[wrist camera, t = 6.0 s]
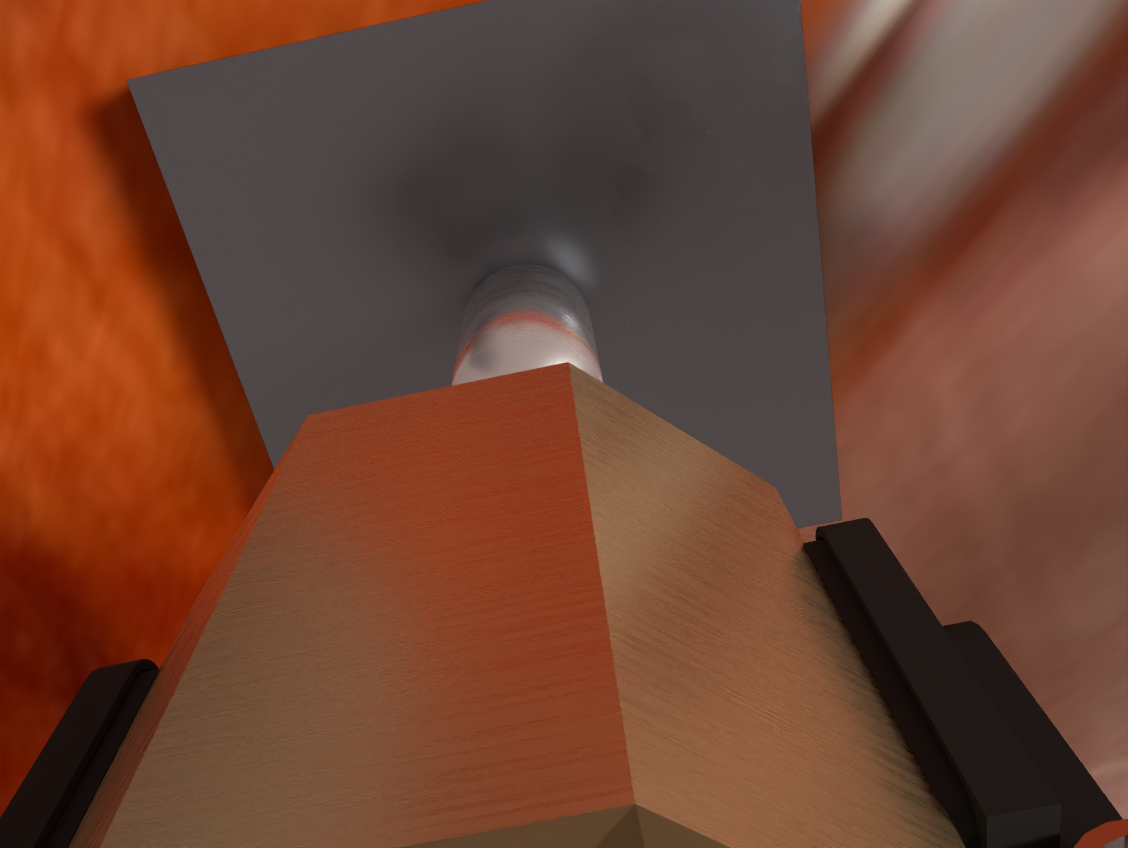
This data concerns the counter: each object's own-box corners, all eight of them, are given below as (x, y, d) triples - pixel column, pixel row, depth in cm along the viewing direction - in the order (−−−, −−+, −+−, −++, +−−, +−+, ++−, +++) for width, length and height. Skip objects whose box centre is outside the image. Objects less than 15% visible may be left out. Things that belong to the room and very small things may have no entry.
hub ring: (755, 323, 10) (1051, 725, 4) (810, 791, 13) (1026, 1375, 7) (126, 452, 10) (-315, 980, 5) (321, 882, 13) (188, 1508, 8)
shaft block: (776, -63, 20) (881, -85, 14) (825, 491, 26) (913, 640, 20) (152, 73, 21) (4, 108, 15) (339, 584, 27) (287, 753, 21)
